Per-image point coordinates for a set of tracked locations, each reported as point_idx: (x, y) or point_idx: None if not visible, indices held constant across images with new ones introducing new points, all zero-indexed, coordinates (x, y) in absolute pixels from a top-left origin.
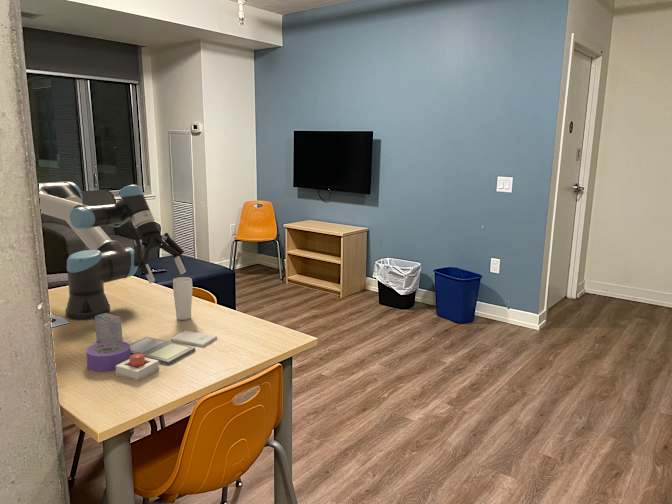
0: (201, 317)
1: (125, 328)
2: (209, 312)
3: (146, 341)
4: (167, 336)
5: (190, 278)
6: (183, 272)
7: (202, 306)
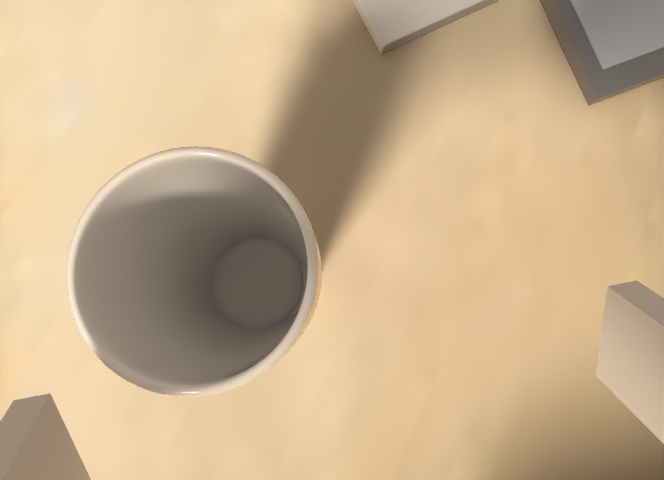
0: None
1: None
2: None
3: (627, 28)
4: (482, 72)
5: (77, 253)
6: (60, 420)
7: None
